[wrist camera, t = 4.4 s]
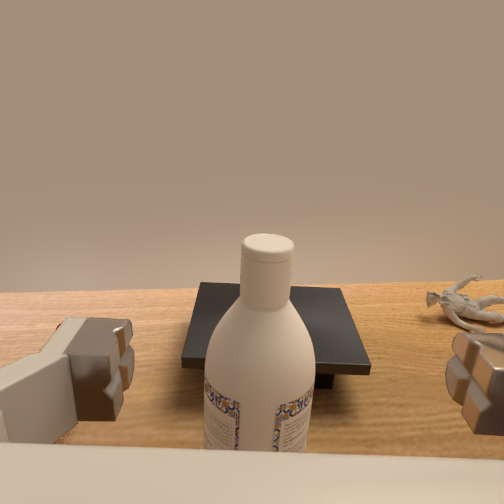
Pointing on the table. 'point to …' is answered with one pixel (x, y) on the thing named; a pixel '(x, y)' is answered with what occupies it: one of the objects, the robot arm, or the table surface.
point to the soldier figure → (466, 305)
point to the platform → (312, 314)
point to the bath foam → (260, 359)
